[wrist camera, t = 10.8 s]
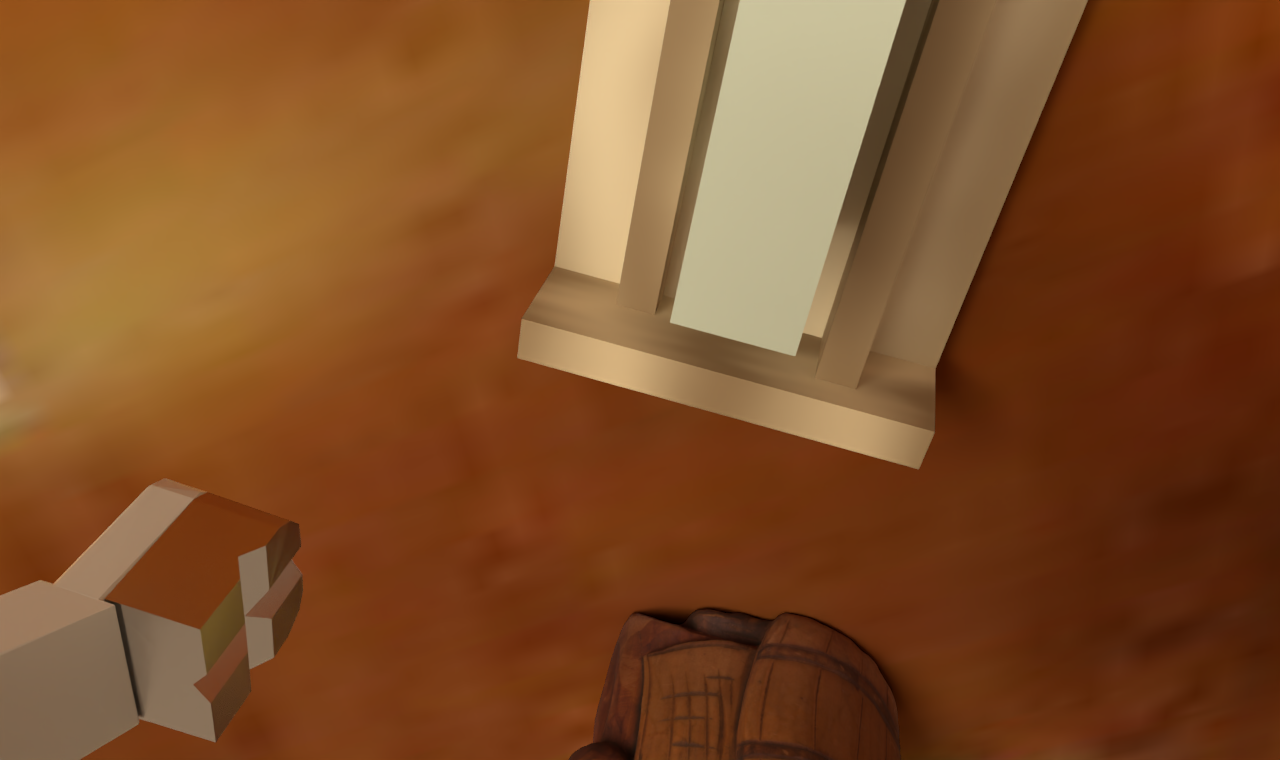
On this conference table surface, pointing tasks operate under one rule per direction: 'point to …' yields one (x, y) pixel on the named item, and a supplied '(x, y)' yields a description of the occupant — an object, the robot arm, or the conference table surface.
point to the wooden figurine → (741, 693)
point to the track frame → (863, 237)
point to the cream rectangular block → (780, 163)
